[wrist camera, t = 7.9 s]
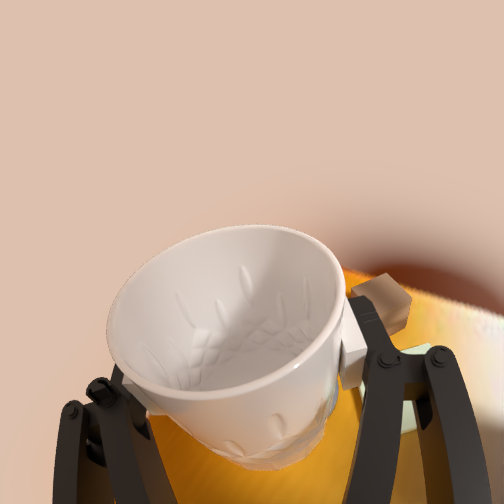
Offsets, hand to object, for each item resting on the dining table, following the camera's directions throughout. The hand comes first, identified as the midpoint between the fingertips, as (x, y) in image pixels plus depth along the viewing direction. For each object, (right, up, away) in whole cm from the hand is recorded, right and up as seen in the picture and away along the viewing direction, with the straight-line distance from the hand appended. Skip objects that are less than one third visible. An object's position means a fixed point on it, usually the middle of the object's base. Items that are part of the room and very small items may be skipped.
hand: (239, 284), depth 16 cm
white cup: (+1, -8, -1) cm, 8 cm away
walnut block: (+16, -7, +17) cm, 24 cm away
